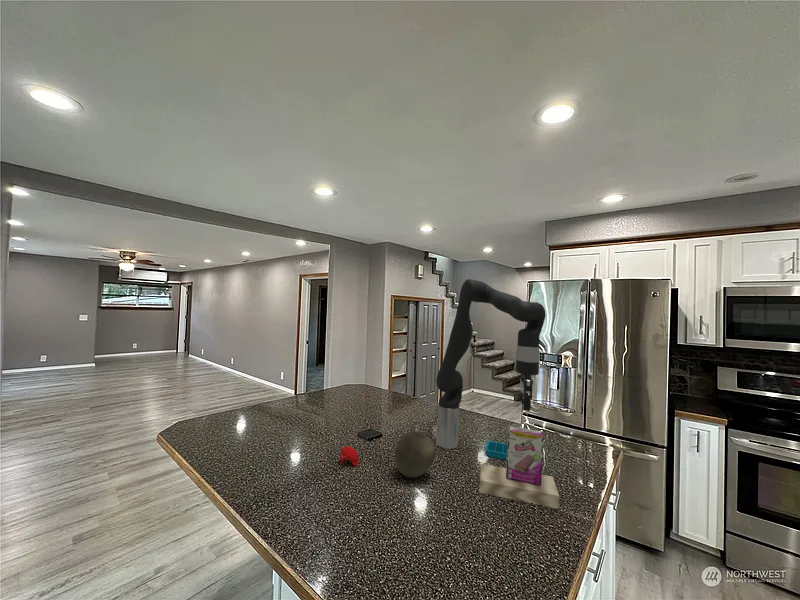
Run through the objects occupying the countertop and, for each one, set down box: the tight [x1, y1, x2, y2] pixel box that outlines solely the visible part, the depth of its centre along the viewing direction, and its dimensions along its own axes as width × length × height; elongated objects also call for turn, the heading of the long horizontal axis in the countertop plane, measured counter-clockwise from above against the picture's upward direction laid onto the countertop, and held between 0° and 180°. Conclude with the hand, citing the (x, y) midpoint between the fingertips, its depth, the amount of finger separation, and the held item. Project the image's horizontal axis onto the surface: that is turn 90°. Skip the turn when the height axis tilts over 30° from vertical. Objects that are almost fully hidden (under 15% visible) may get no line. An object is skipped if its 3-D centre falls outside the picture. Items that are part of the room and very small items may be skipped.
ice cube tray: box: [484, 440, 508, 461], centre depth 138 cm, size 12×20×3 cm, turn 69°
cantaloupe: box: [394, 430, 437, 479], centre depth 117 cm, size 14×14×15 cm
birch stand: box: [478, 463, 560, 510], centre depth 110 cm, size 24×13×4 cm, turn 73°
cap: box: [339, 445, 360, 467], centre depth 123 cm, size 8×6×6 cm
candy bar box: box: [505, 425, 544, 486], centre depth 110 cm, size 11×5×16 cm, turn 72°
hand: (525, 407), depth 111 cm, fingers open, 8 cm apart
